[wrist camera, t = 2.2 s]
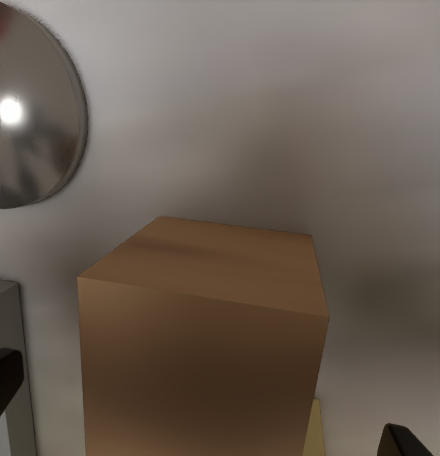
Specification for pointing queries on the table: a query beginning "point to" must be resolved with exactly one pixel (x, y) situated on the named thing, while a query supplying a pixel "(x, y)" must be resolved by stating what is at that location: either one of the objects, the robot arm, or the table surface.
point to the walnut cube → (201, 342)
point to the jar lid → (37, 111)
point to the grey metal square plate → (21, 404)
